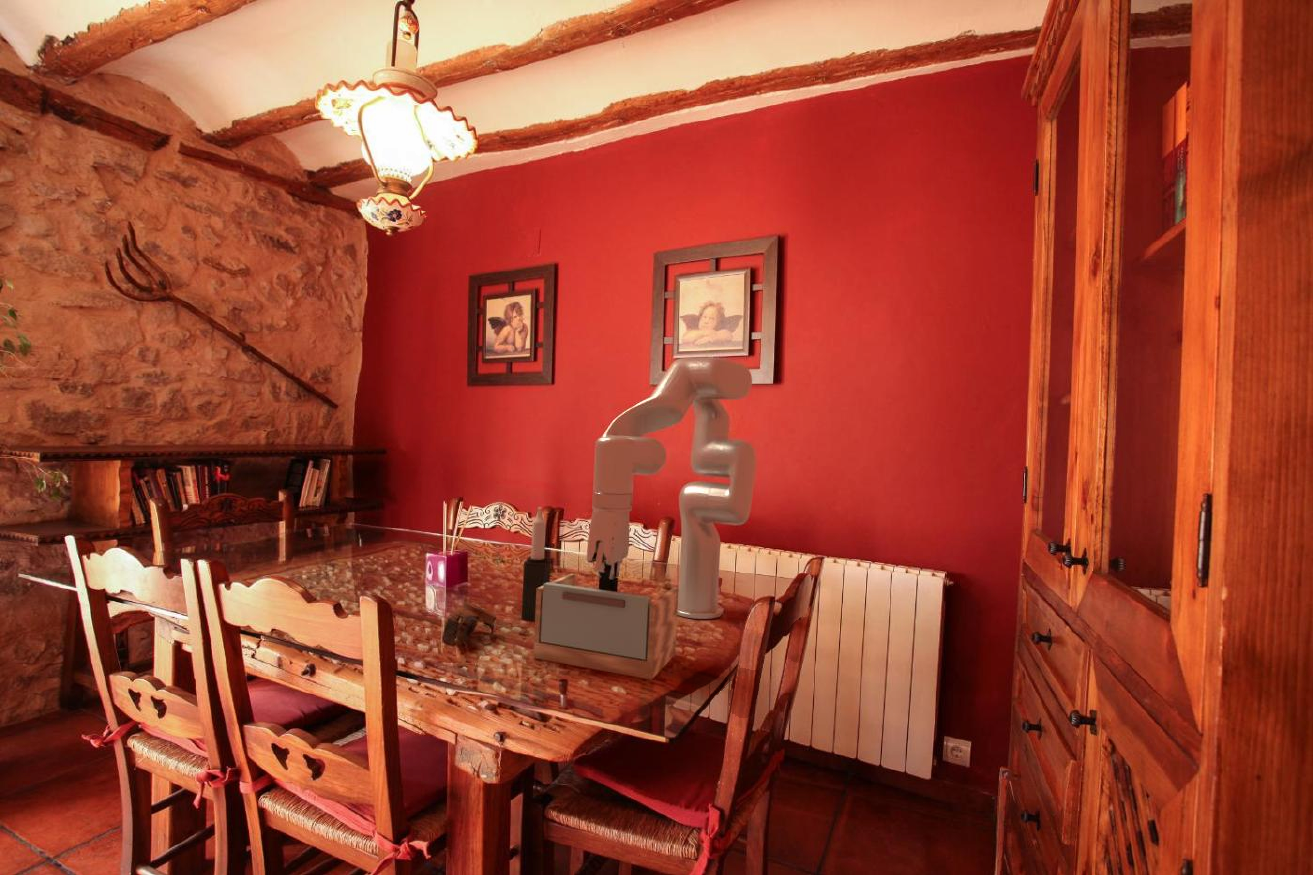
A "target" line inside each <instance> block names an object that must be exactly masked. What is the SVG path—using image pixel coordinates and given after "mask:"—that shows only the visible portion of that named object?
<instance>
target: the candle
mask: <svg viewBox="0 0 1313 875" xmlns="http://www.w3.org/2000/svg"><path fill="white" fill-rule="evenodd" d="M542 510H543V508H542V507H541V506H539V507H538V508H537V512H536V516H535V518H534V519H533V521H532V529H531V530H532V532H531V533H532V534H531V549H530V550H531V552H530V556H528V557H527V559H526V560H525V561H524V562H523V575H522V576H523V577H522V578H523V579H522V596H521V600H522V601H521V615H520V616H521V620H523V621H530V622H531V621H532V622H535V610H536V589H537V588H539V587H541V586H543V584H545V583H547V582H549V583H550V582H551V565H552V564H551V560H550V559H548V557H546V556H545V547H546V546H545V545H546V529H547V528H546V527H547V523H546V520H545V519H544V516H543V512H542Z"/></svg>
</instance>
